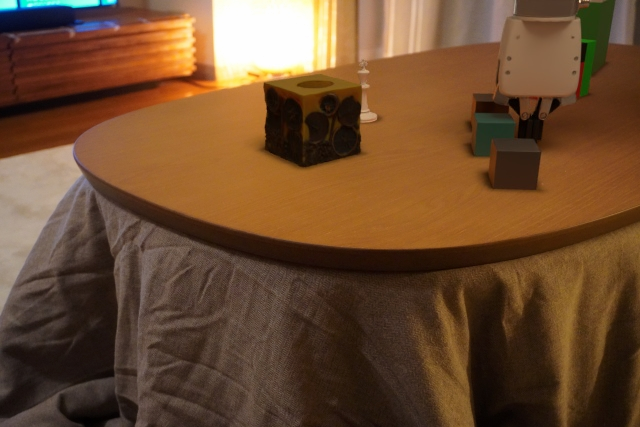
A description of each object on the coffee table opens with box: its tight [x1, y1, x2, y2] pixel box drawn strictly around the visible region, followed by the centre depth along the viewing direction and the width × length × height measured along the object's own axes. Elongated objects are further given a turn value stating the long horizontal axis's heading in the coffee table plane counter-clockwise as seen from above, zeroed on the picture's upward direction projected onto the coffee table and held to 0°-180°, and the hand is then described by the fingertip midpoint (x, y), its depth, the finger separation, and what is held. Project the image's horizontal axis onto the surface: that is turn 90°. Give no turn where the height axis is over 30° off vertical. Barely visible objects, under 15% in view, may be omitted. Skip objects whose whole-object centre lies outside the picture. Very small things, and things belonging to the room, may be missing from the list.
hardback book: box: [575, 0, 616, 77], centre depth 134 cm, size 18×7×24 cm, turn 148°
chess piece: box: [356, 58, 378, 123], centre depth 102 cm, size 5×5×10 cm
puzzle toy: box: [529, 39, 596, 100], centre depth 115 cm, size 10×10×10 cm
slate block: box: [487, 137, 542, 191], centre depth 75 cm, size 5×5×5 cm
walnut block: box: [470, 93, 510, 128], centre depth 97 cm, size 5×5×5 cm
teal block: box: [470, 112, 517, 158], centre depth 86 cm, size 5×5×5 cm
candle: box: [262, 73, 362, 168], centre depth 86 cm, size 10×10×10 cm
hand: (528, 145), depth 86 cm, fingers closed
